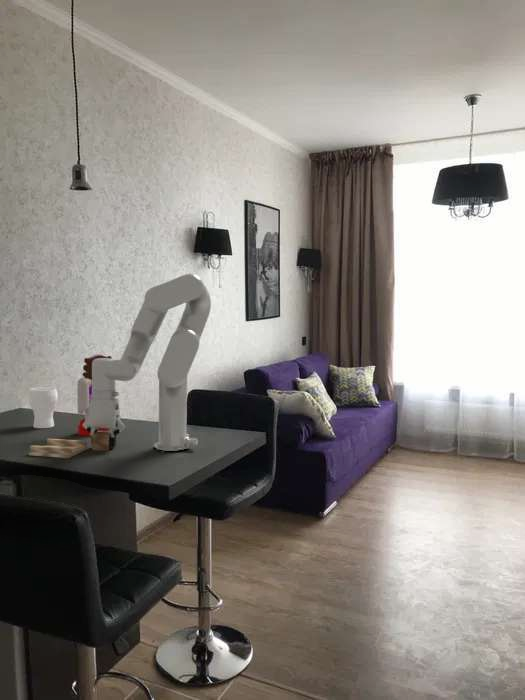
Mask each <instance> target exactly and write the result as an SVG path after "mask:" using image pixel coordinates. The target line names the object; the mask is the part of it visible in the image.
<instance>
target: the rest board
mask: <svg viewBox="0 0 525 700" xmlns="http://www.w3.org/2000/svg"><path fill="white" fill-rule="evenodd" d="M87 442H88V441H87V440H76V439H62V438H61V439H60V438H47V439H46V444H44V445H30V446H29V452H28V456H34V457H35V456H37V457H48V458H49V457H50V458H63V459H70V458H72V457H74V456H76V455H78V454H81V453H82V452H84V451H86V450H88V443H87Z"/></svg>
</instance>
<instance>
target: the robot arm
mask: <svg viewBox="0 0 525 700" xmlns="http://www.w3.org/2000/svg"><path fill="white" fill-rule="evenodd" d="M143 300H144V301H143V302H142V305H141V307H140V310H138V311H139V312H138V313H137V315H136V318H135V319H134V322H133V324H132V325H131V330H130V336H129V340H128V343H127V345H126V347H125V350H124V351H123V353H122V355H121V358H120V359H113V358H112V359H110V358H97V359H94V360H93V362H92V398H91V399H90V403H89V410H88V418H87V420H86V421H85V422H84V423H83V427H84V428H85V429H87V431H88V432H89V433H90V436H89V437H91V444H92V434H93V433H96V432H97V431H98V428H102V429H109V432H110V435H111V437H110V438H109V448H110V449H111V450H112V449H114V448H116V445H117V436H118V434H119V433H121V432H122V431H123V430H124V429H125V428H126V426H125V424H124V423H123V422H122V421H121V412H120V404H119V400H118V398H116V397H118V396H120V395H119V394H120V393H119V391H116V390H117V389H116V381H119V382H120V381H121V382H130V381H132V380H133V379H135V378H136V376H137V375H138V373H139V372H140V370H141V368H142V365H143V363H144V361H145V358H146V357H147V355H148V353H149V351H150V349H151V346H152V344H153V343H154V342H155V339H156V337H157V335H158V333H159V331H160V328H161V326H162V324H163V322H164V319H165V317H166V316H167V313H168V311H169V310H170V309H173V308H175V307H178V306H181V305H183V304H185V307H184V310H183V312H182V315H181V318H180V321H179V322H178V325H177V328H176V329H175V331H174V332H173V333H172V336H171V338H170V339H169V342H168V344H167V346H166V349H165V351H164V354H163V356H162V359H161V361H160V363H159V366H158V368H157V379H158V441H157V442H155V443H154V444H153V448H154V447H155V448H157V449H162V450H175V449H182V448H185V447H188V446H186V445H189V444H191V446H198V442H199V440H198V438H195V437H190V434H189V433H187V414H188V412H187V411H188V410H187V409H188V408H187V407H188V406H187V403H188V402H187V401H188V374H189V372H190V370H191V368H192V366H193V362H194V360H195V358H196V355H197V353H198V351H199V347H200V340H201V337H202V334H203V332H204V329H205V327H206V324H207V321H208V318H209V316H210V313H211V307H212V306H211V305H212V303H211V302H212V301H211V295H210V293H209V291H208V289H207V287H206V285H205V284H204V282H203V280H202V278H201V277H200V276H198V275H196V274H194V273H186V274H183V275H181V276H178V277H176V278H173V279H171V280H168V281H166V282H164V283H161V284H158V285H155V286H152V287H150V288H149V289H148V290H146V293H145V294H144V299H143ZM116 427H118V428H117V429H116Z"/></svg>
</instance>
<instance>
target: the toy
mask: <svg viewBox="0 0 525 700" xmlns="http://www.w3.org/2000/svg"><path fill="white" fill-rule="evenodd" d="M97 358H110V359H113V358H112V356H111V355H108V356H105V355H103V354H99V353H98V354H97V353H96V354H93V355H91V356H90V357H85V358H84V360H83V362H84V365H83V367H82V370H83V371H84V372H83V373H82V377H81V378H79V379H78V380H77V388H76V389H77V390H76V391H77V395H76V396H77V414H79V415H84V418H82V419H81V420H80V421H79V424H78V425H77V434H78V436H83V437H91V436H90V433H89V432H88V431H87V429H85V428H84V427H83V423H84V422H85V421H86V420H87V418H88V410H89V403H90V399H91V398H92V362H93V360H94V359H97ZM100 430H101V431H109V429H102V428H98V431H100ZM98 431H97V432H98Z"/></svg>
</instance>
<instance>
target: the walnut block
mask: <svg viewBox="0 0 525 700" xmlns="http://www.w3.org/2000/svg"><path fill="white" fill-rule="evenodd" d="M110 437H111V435H110V432H109V431H101V430H100V431H98V432H96V433H93V434H92V443H91V445H92V446H91V449H92V451H102V452H109V451H110V448H109V438H110ZM108 450H109V451H108Z"/></svg>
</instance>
